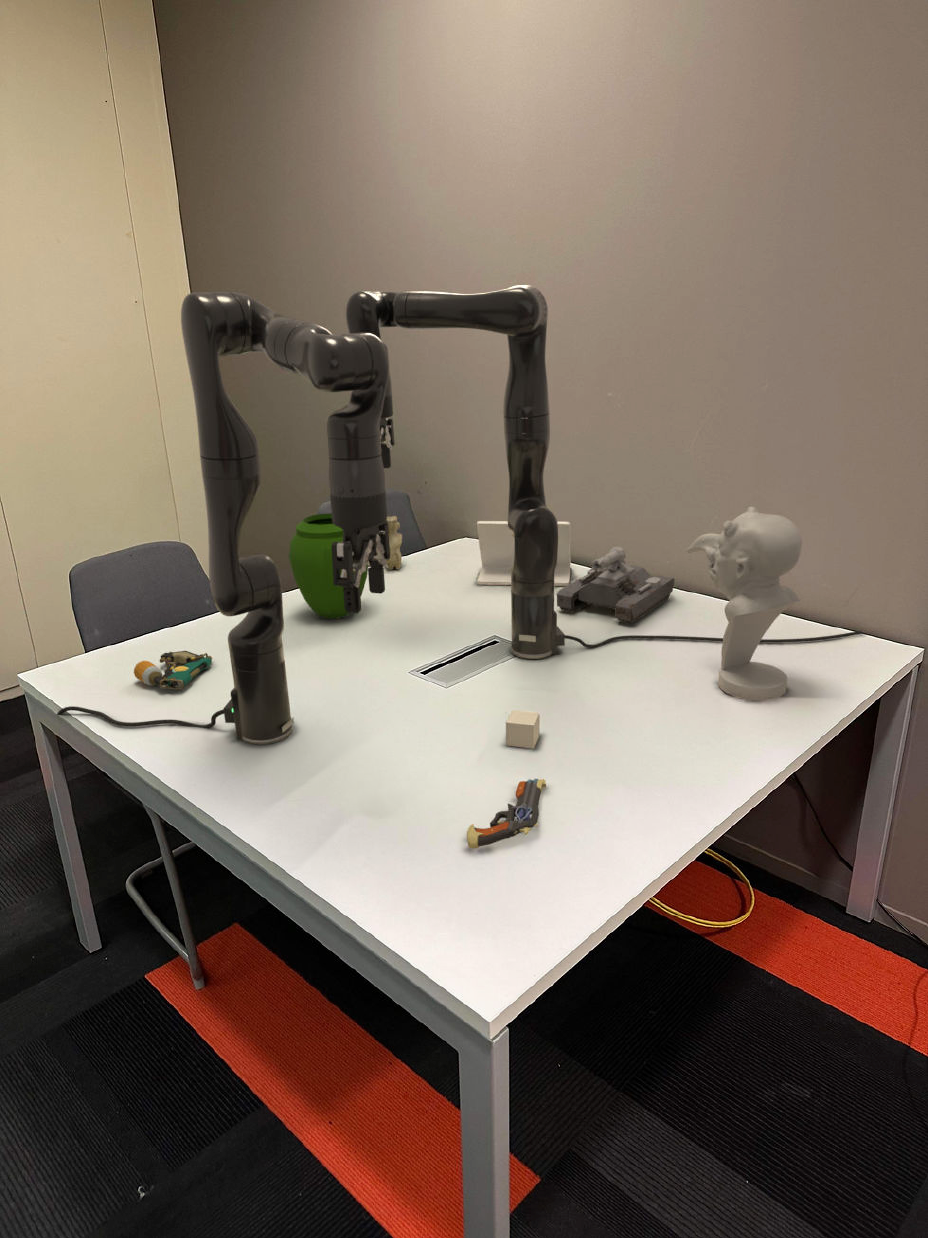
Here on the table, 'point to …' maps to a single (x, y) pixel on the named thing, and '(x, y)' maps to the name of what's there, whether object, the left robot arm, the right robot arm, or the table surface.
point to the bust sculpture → (751, 595)
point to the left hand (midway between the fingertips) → (365, 601)
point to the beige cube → (522, 729)
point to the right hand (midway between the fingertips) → (378, 471)
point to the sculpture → (394, 543)
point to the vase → (319, 565)
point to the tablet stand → (500, 553)
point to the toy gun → (511, 816)
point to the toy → (616, 588)
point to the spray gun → (172, 669)
